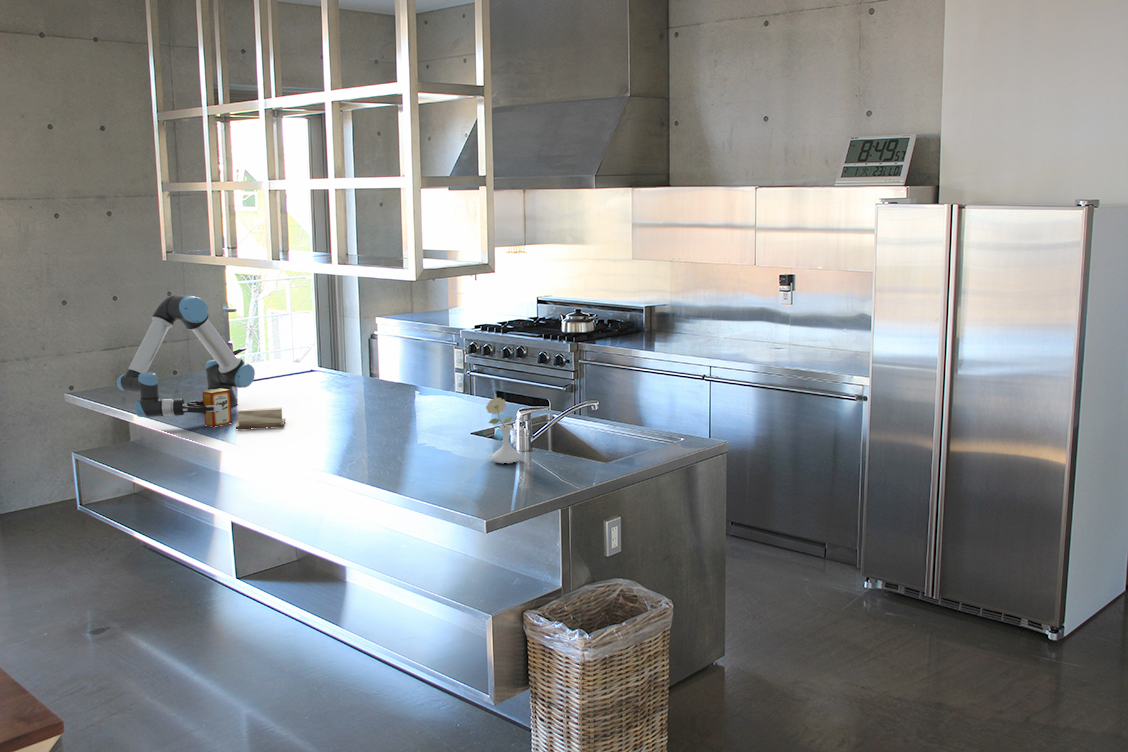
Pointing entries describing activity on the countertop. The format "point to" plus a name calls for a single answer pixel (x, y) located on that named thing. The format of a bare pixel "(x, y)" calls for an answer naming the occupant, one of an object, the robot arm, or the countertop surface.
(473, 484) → the countertop surface
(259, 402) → the countertop surface
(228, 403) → the baking soda box
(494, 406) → the flower in vase
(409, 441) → the countertop surface
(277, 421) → the ridge stand
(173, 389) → the countertop surface
